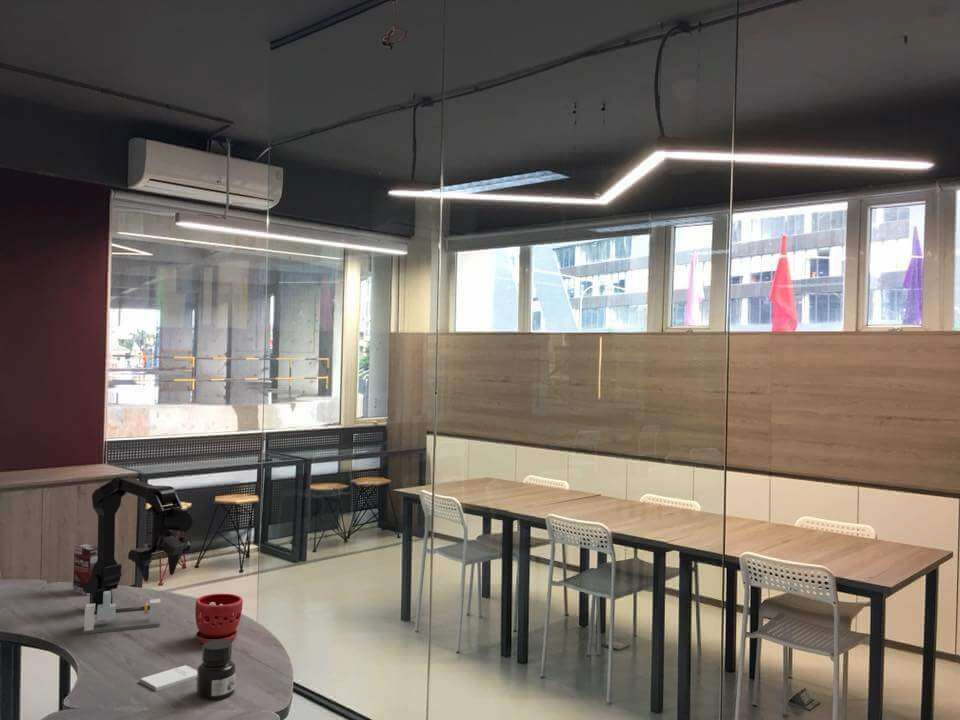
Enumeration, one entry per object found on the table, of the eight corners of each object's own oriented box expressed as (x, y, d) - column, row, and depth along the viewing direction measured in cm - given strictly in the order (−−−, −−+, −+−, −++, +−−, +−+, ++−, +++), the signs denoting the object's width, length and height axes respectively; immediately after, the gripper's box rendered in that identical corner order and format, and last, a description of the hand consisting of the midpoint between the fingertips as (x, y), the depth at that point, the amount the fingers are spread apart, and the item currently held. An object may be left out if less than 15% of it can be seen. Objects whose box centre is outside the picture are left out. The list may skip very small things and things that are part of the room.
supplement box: (71, 591, 269) (73, 546, 270) (84, 588, 274) (86, 543, 274) (88, 595, 265) (89, 549, 266) (100, 592, 270) (102, 546, 270)
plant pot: (214, 650, 218) (215, 608, 218) (184, 641, 225) (186, 599, 225) (250, 637, 229) (252, 597, 229) (221, 629, 236) (222, 589, 236)
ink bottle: (219, 704, 184) (221, 653, 184) (187, 699, 186) (189, 649, 186) (242, 688, 193) (244, 640, 193) (212, 683, 196) (213, 635, 196)
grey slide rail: (82, 634, 228) (83, 610, 228) (84, 626, 235) (85, 603, 235) (159, 626, 236) (160, 603, 236) (159, 619, 243) (160, 597, 243)
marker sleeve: (96, 620, 231) (97, 594, 231) (97, 616, 234) (98, 591, 235) (115, 618, 233) (116, 593, 233) (115, 615, 236) (116, 590, 237)
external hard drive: (139, 684, 195) (184, 670, 205) (155, 693, 190) (201, 678, 200) (139, 678, 195) (185, 664, 205) (156, 687, 190) (202, 672, 200)
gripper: (152, 536, 228) (150, 589, 227) (203, 526, 244) (201, 575, 244) (128, 531, 233) (125, 583, 233) (179, 521, 249) (177, 569, 249)
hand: (159, 578), depth 240 cm, fingers open, 9 cm apart
